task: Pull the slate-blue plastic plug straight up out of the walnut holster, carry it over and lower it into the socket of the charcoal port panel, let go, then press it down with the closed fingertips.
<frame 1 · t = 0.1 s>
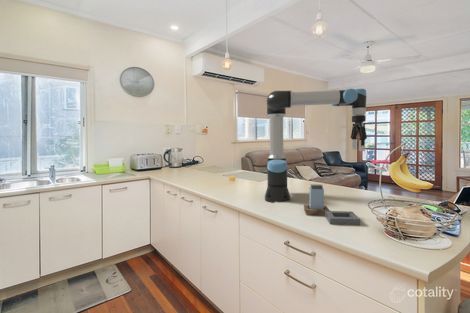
hand: (357, 150, 149), 28 cm above the countertop, fingers open, 13 cm apart
plug: (316, 212, 118), resting on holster
port: (341, 221, 107), on the countertop
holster: (316, 213, 118), on the countertop
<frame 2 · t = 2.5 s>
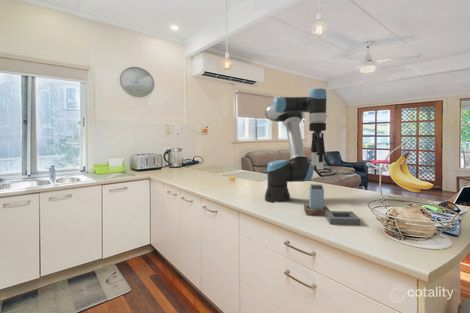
hand: (317, 167, 117), 23 cm above the countertop, fingers open, 13 cm apart
nothing on the countertop moved.
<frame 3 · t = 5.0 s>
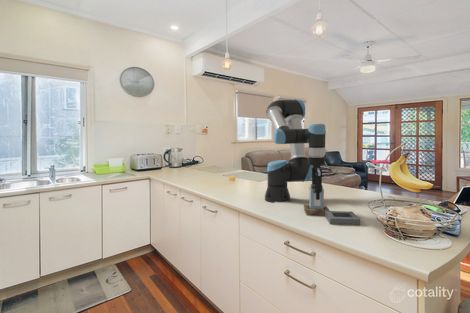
hand: (316, 204, 118), 5 cm above the countertop, fingers closed on plug, 4 cm apart
plug: (316, 212, 118), point 1 cm above the countertop, touching gripper, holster
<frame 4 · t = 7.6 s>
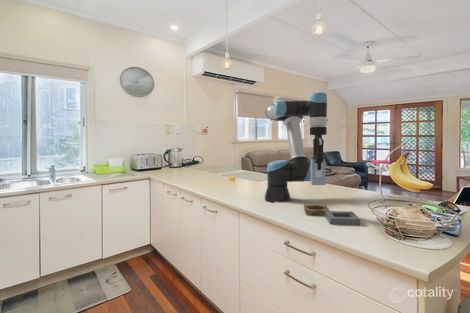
hand: (317, 175, 116), 19 cm above the countertop, fingers closed on plug, 4 cm apart
plug: (317, 184, 116), point 15 cm above the countertop, touching gripper
when the fingers open (6 cm above the countertop, at t = 10.5 s): plug drops 1 cm, resting on port.
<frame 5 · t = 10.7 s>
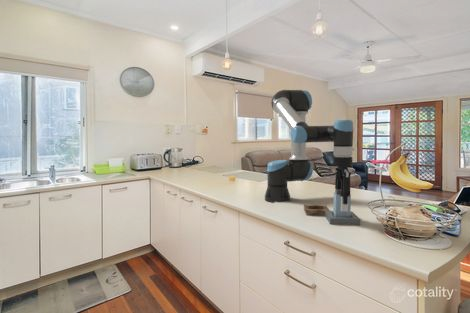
hand: (341, 208, 107), 6 cm above the countertop, fingers open, 7 cm apart
plug: (341, 220, 107), resting on port
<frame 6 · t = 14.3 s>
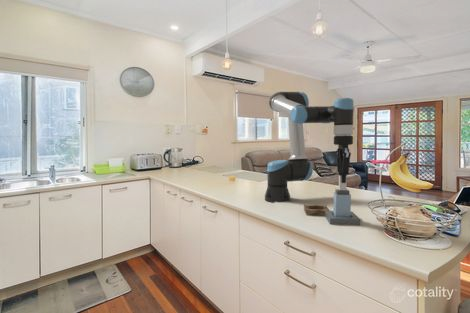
hand: (342, 189, 106), 14 cm above the countertop, fingers closed
plug: (341, 220, 107), point 1 cm above the countertop, touching gripper, port
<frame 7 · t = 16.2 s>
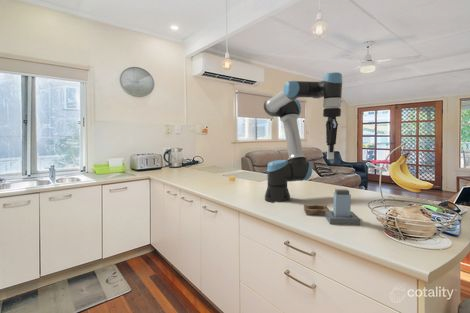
hand: (330, 158, 114), 27 cm above the countertop, fingers closed
plug: (341, 220, 107), resting on port
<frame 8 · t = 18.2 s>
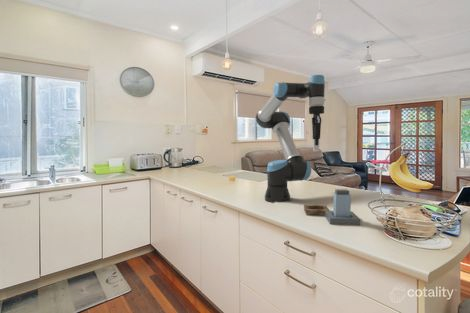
hand: (316, 151, 128), 29 cm above the countertop, fingers closed
nothing on the countertop moved.
at the end: plug 0.0 cm off-centre on the port, point 0.5 cm above the port's base; plug tilted 0°; the gripper is holding nothing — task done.
